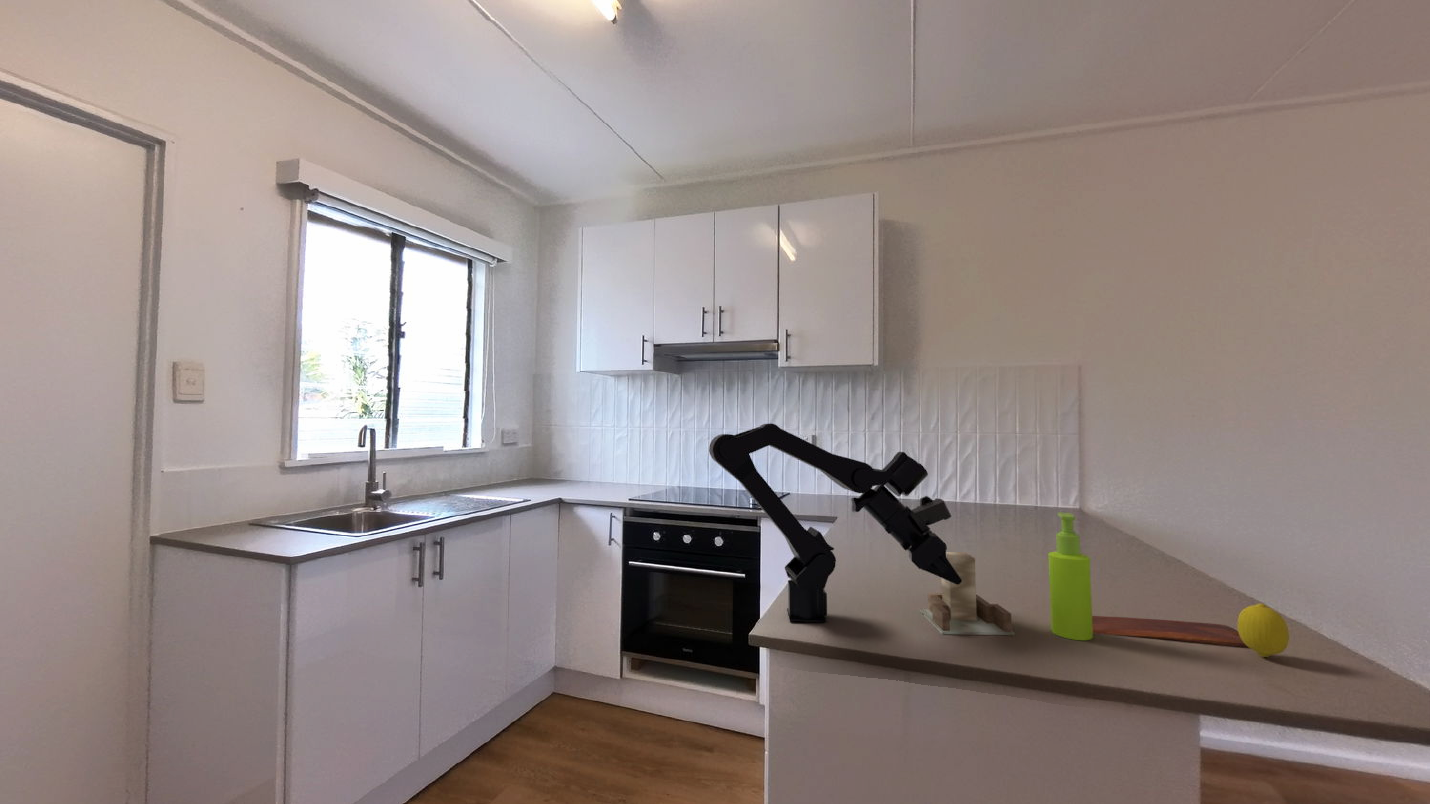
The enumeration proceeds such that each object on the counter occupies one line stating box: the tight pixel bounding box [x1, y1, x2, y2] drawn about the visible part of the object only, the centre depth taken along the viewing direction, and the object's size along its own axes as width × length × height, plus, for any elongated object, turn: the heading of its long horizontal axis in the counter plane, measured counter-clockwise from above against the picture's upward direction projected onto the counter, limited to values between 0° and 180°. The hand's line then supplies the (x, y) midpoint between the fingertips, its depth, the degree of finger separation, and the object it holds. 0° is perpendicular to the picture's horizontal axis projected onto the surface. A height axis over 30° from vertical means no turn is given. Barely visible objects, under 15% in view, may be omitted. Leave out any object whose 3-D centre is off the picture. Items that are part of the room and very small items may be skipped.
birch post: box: [940, 551, 977, 620], centre depth 101 cm, size 4×4×11 cm
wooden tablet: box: [1092, 615, 1249, 648], centre depth 94 cm, size 27×10×2 cm, turn 72°
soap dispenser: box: [1047, 512, 1094, 641], centre depth 93 cm, size 6×7×20 cm
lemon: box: [1237, 603, 1290, 658], centre depth 83 cm, size 6×6×8 cm
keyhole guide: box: [919, 592, 1016, 636], centre depth 98 cm, size 12×12×3 cm
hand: (954, 576), depth 101 cm, fingers open, 9 cm apart
